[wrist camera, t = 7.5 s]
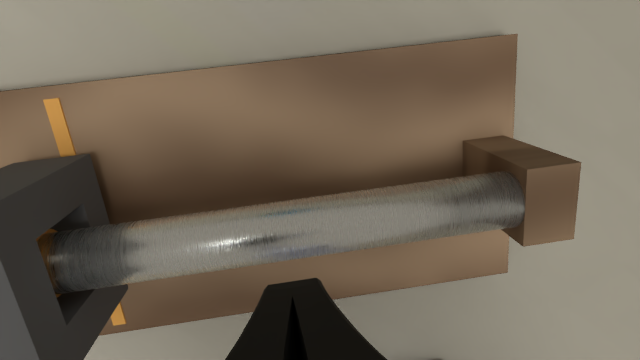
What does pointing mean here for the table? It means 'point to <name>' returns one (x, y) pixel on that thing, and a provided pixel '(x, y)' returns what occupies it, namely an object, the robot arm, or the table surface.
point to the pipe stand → (294, 177)
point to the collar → (28, 266)
